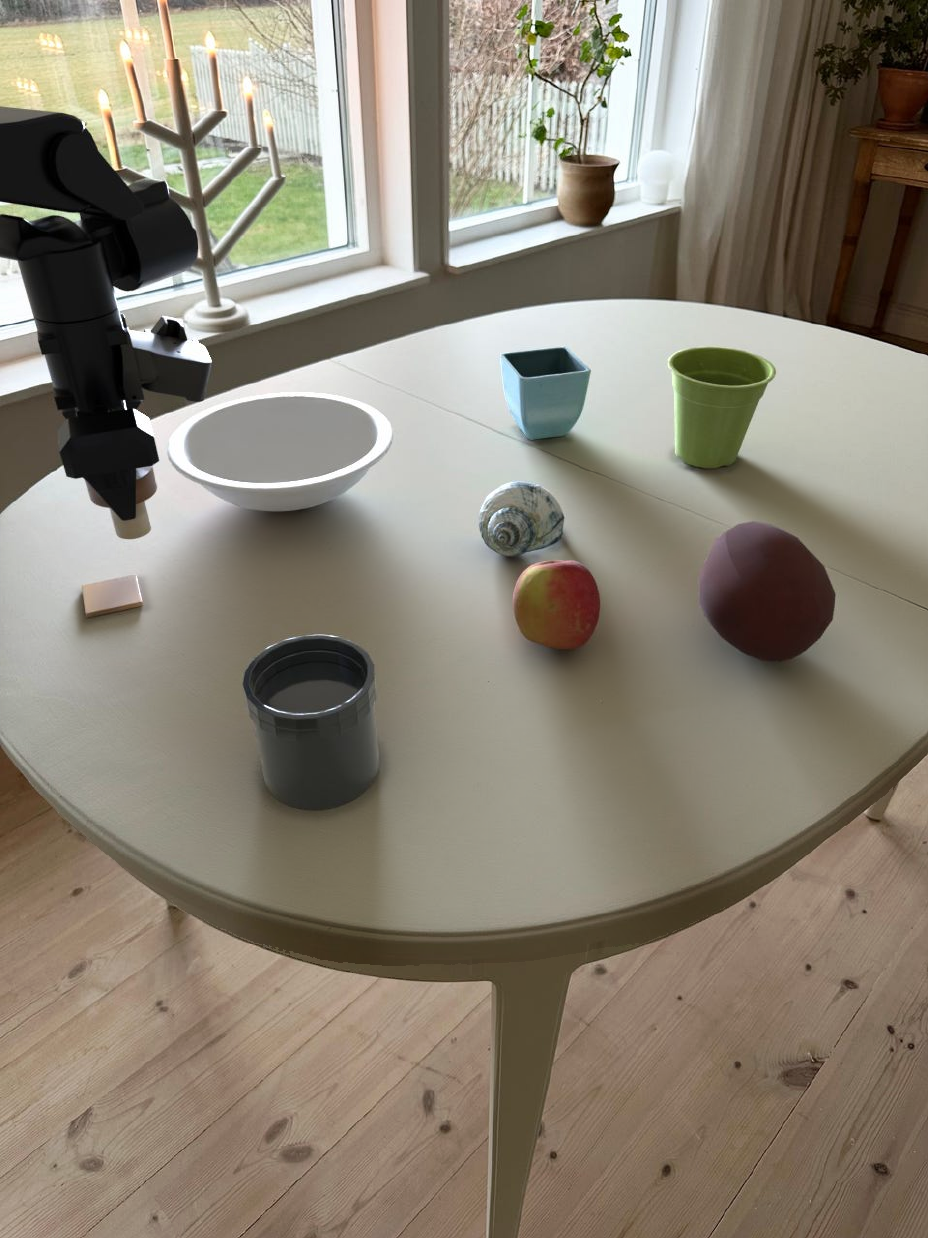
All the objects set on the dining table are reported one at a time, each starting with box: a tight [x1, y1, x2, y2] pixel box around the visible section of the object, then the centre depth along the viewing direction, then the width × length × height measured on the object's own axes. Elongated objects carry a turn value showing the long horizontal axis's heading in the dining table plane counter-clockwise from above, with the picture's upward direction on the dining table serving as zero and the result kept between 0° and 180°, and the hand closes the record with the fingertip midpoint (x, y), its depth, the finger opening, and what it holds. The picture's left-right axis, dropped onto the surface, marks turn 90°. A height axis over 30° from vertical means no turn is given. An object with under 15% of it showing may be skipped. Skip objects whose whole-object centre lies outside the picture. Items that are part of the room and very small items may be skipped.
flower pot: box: [499, 346, 592, 440], centre depth 113 cm, size 9×9×9 cm
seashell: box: [478, 480, 565, 557], centre depth 92 cm, size 6×8×12 cm
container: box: [242, 634, 380, 811], centre depth 66 cm, size 9×9×9 cm
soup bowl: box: [166, 392, 394, 512], centre depth 101 cm, size 24×24×7 cm
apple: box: [512, 559, 601, 650], centre depth 79 cm, size 8×8×8 cm
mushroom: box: [84, 465, 158, 540], centre depth 74 cm, size 5×5×6 cm
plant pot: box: [667, 346, 777, 469], centre depth 106 cm, size 12×12×11 cm
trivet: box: [81, 573, 144, 619], centre depth 87 cm, size 5×5×1 cm
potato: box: [698, 520, 837, 663], centre depth 78 cm, size 11×13×10 cm
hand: (125, 503), depth 75 cm, fingers closed on mushroom, 5 cm apart
